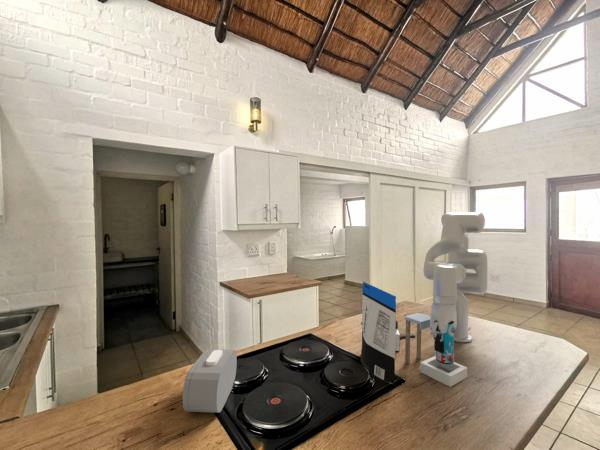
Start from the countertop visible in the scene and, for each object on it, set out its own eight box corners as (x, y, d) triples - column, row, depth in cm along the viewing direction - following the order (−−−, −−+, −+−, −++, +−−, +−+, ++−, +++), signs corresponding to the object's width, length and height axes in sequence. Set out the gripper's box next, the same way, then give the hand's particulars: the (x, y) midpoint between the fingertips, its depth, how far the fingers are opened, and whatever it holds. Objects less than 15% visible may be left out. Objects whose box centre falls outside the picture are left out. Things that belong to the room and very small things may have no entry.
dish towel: (389, 321, 155) (389, 317, 155) (416, 338, 133) (416, 333, 133) (361, 324, 151) (361, 319, 151) (384, 341, 128) (384, 336, 128)
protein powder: (381, 388, 91) (383, 297, 91) (351, 354, 115) (352, 281, 115) (407, 384, 93) (408, 295, 93) (372, 352, 117) (373, 281, 117)
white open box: (419, 356, 114) (420, 312, 114) (467, 377, 98) (467, 326, 98) (402, 363, 108) (403, 316, 108) (450, 387, 92) (451, 333, 92)
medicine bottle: (399, 351, 118) (400, 323, 118) (382, 349, 119) (382, 321, 119) (397, 344, 125) (397, 317, 125) (380, 342, 126) (381, 316, 126)
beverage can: (450, 367, 96) (450, 324, 96) (433, 360, 101) (432, 320, 100) (456, 360, 100) (456, 319, 100) (439, 354, 105) (439, 315, 104)
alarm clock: (208, 379, 95) (209, 340, 95) (236, 380, 95) (236, 341, 95) (181, 423, 74) (181, 373, 74) (216, 424, 74) (216, 374, 74)
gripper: (447, 293, 108) (446, 340, 108) (420, 300, 98) (420, 351, 98) (467, 298, 101) (466, 348, 102) (441, 305, 92) (440, 360, 92)
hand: (443, 349), depth 100 cm, fingers closed on beverage can, 5 cm apart
